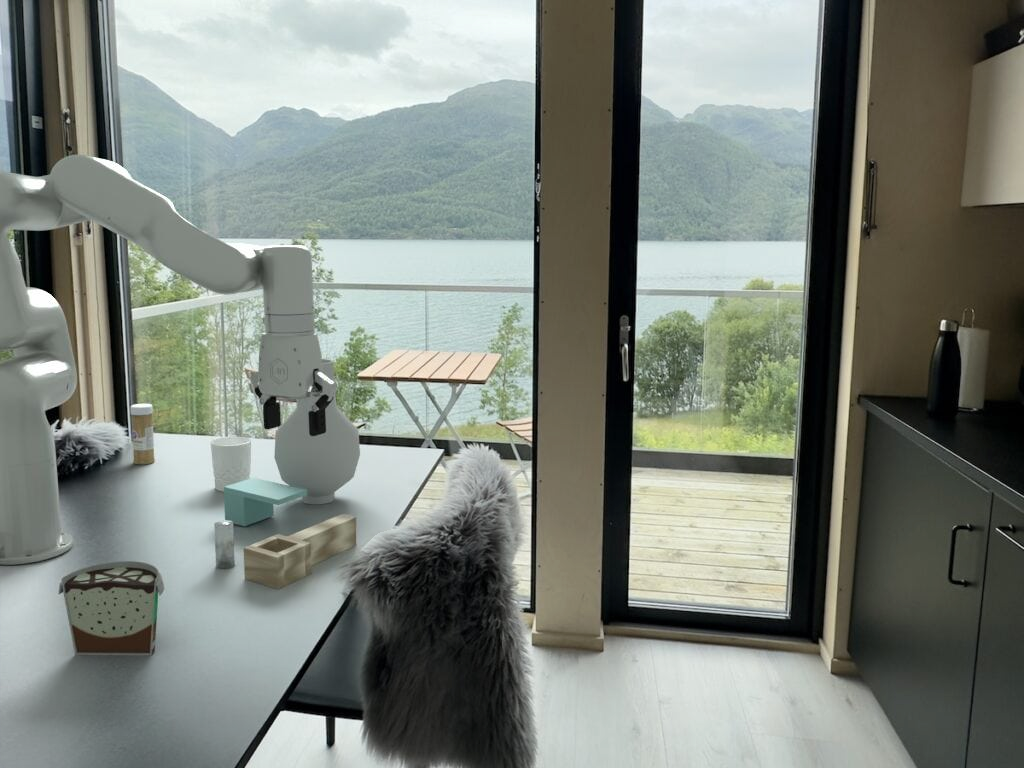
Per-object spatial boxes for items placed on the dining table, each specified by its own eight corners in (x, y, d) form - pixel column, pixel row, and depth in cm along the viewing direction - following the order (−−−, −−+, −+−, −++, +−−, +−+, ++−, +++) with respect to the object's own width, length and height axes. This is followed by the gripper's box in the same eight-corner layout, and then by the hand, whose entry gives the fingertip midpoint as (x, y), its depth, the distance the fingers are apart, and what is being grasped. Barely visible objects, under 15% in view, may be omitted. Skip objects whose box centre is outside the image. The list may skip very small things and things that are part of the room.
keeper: (279, 535, 140) (278, 499, 139) (225, 521, 146) (223, 486, 145) (307, 524, 146) (307, 489, 145) (254, 510, 152) (253, 477, 151)
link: (278, 589, 119) (277, 557, 118) (244, 578, 123) (243, 547, 122) (365, 547, 136) (365, 519, 136) (333, 539, 140) (333, 511, 139)
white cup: (258, 483, 171) (257, 437, 169) (242, 494, 163) (241, 446, 161) (223, 481, 171) (221, 435, 170) (205, 492, 164) (203, 444, 162)
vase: (374, 491, 167) (373, 358, 162) (336, 516, 151) (334, 369, 146) (302, 483, 171) (299, 353, 166) (258, 507, 155) (254, 364, 151)
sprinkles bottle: (128, 463, 182) (125, 405, 180) (144, 458, 187) (141, 402, 184) (144, 466, 181) (141, 407, 179) (159, 461, 185) (156, 404, 183)
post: (224, 570, 125) (222, 527, 124) (212, 566, 127) (210, 524, 126) (238, 564, 128) (237, 522, 127) (226, 560, 129) (224, 519, 128)
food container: (182, 631, 106) (179, 560, 104) (163, 655, 100) (160, 579, 98) (87, 631, 105) (82, 558, 104) (62, 654, 99) (57, 578, 97)
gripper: (232, 324, 127) (238, 429, 130) (315, 329, 119) (319, 442, 122) (267, 320, 133) (272, 421, 136) (348, 325, 125) (352, 432, 128)
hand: (294, 431), depth 129 cm, fingers open, 9 cm apart
